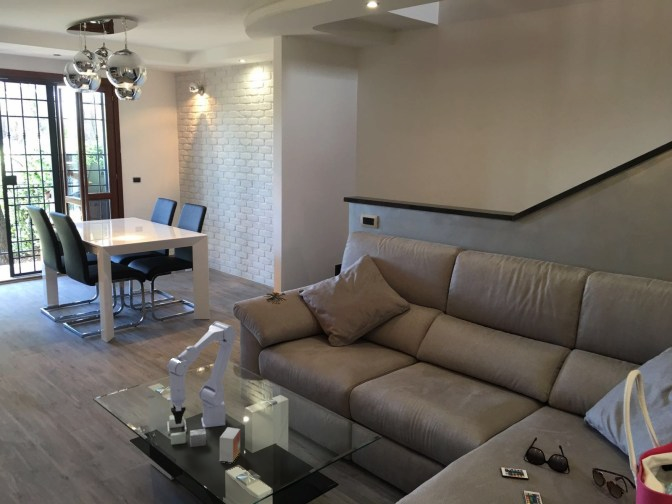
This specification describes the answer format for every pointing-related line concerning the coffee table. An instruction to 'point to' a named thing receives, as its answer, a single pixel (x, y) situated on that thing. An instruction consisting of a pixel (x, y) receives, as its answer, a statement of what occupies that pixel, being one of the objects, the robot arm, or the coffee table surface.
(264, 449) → the coffee table surface
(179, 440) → the vise frame
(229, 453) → the small box
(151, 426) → the coffee table surface
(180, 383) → the robot arm
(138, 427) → the coffee table surface
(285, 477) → the coffee table surface
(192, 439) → the steel block
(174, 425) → the sliding jaw
